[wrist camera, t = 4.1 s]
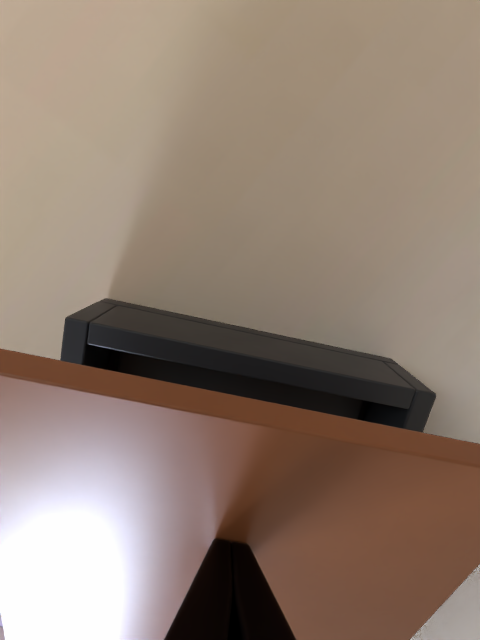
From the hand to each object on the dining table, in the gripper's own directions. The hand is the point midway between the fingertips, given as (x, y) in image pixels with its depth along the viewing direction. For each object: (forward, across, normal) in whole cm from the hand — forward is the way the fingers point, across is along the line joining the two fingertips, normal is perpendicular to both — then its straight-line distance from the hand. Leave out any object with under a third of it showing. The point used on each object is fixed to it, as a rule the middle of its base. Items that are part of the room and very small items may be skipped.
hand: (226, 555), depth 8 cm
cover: (+1, 0, +3) cm, 3 cm away
